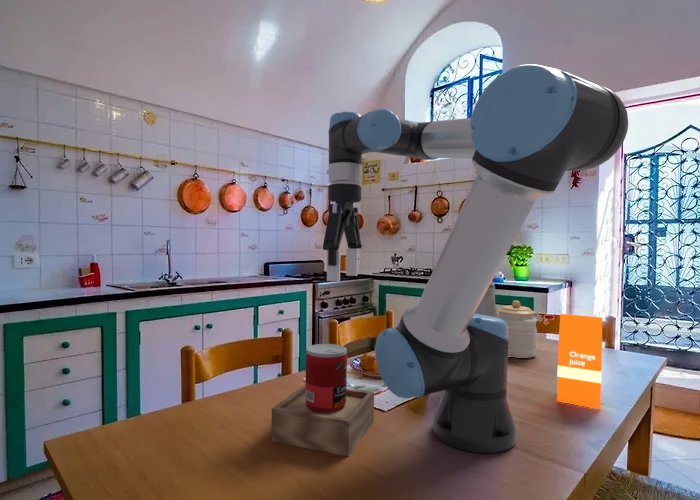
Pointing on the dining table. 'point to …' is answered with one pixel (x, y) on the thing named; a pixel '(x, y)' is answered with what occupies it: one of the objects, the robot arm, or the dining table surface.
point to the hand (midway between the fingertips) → (343, 278)
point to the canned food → (326, 377)
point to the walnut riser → (323, 422)
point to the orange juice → (580, 360)
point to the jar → (520, 329)
